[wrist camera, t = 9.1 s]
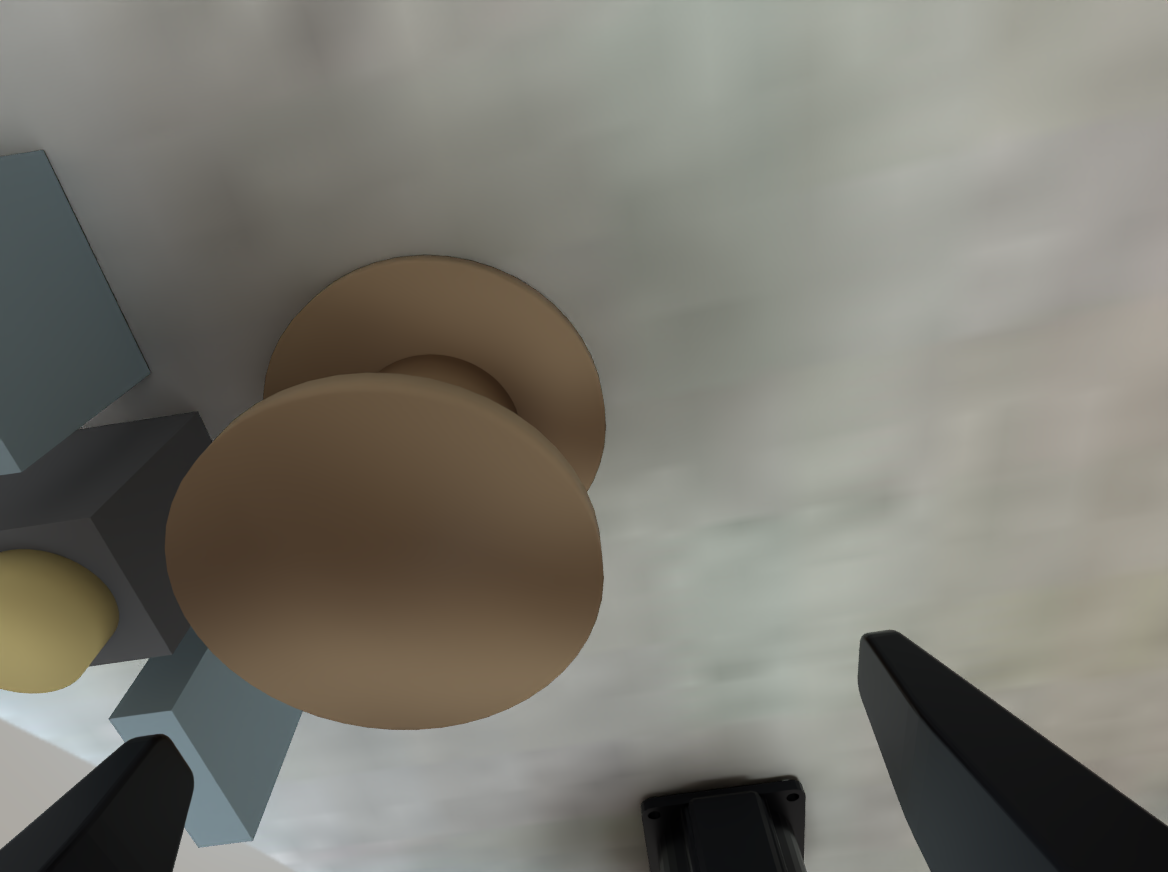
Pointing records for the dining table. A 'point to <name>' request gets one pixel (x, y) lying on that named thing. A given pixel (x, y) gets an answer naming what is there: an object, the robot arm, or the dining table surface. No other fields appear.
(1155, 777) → the dining table surface
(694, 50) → the dining table surface
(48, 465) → the dark gray rectangular block
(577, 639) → the bobbin
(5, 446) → the grey blocks
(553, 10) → the dining table surface
